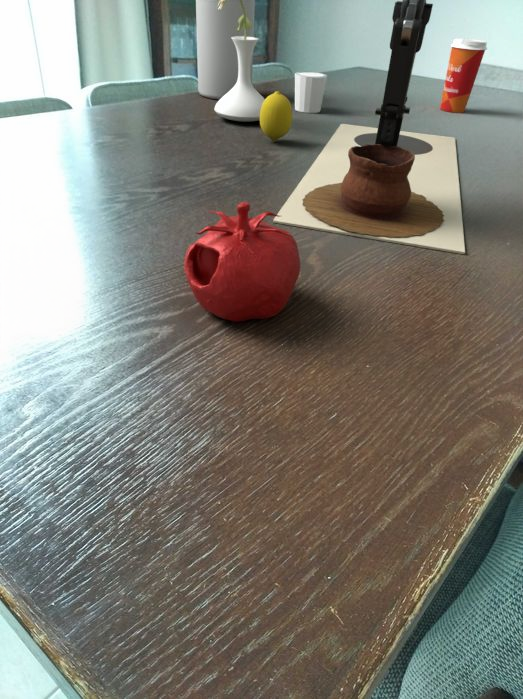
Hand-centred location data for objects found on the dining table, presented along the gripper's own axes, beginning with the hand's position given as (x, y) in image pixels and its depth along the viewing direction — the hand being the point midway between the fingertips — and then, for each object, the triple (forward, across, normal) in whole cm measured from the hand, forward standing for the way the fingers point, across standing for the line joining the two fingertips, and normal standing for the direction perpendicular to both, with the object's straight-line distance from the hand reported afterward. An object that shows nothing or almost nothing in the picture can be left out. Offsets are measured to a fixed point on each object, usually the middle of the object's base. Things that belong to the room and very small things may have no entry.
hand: (381, 168), depth 64 cm
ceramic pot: (+4, +5, 0) cm, 6 cm away
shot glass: (+5, -49, -20) cm, 53 cm away
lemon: (+4, -21, -20) cm, 29 cm away
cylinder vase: (+5, -54, -41) cm, 68 cm away
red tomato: (+4, +31, -9) cm, 33 cm away
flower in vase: (+5, -33, -30) cm, 44 cm away
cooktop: (+4, -13, 0) cm, 13 cm away
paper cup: (+5, -67, +11) cm, 68 cm away
